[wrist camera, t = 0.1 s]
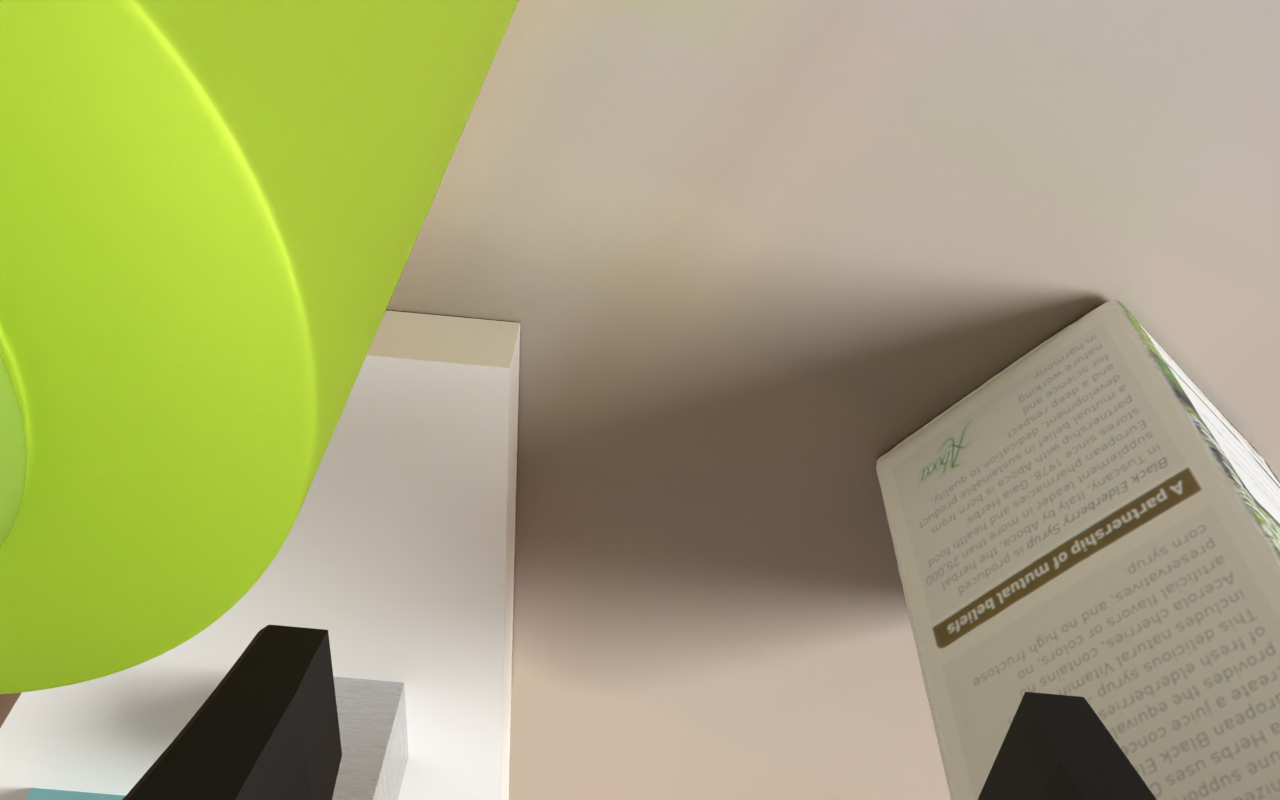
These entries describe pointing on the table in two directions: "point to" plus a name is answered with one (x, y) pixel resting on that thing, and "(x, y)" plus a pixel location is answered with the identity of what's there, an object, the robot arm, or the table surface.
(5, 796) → the post board
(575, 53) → the table surface
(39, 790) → the teal rectangular block
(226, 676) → the robot arm
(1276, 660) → the syrup box
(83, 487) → the soap dispenser
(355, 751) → the steel post
